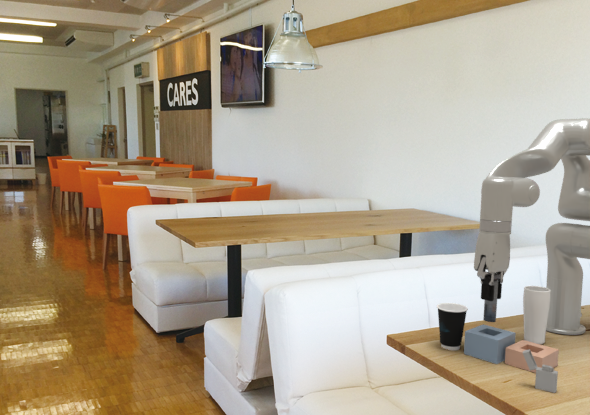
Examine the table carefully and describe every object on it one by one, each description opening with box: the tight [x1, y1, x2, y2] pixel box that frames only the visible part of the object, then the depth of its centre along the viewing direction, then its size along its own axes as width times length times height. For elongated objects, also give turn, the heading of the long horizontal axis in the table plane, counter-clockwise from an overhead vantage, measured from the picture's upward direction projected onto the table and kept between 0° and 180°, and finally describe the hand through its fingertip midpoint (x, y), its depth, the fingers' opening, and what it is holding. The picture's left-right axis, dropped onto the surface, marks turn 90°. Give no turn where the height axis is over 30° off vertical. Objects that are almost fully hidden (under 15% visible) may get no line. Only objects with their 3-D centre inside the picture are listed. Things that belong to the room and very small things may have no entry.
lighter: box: [523, 349, 559, 394], centre depth 119 cm, size 7×2×8 cm, turn 56°
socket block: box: [463, 324, 516, 365], centre depth 138 cm, size 9×9×6 cm
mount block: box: [504, 339, 560, 374], centre depth 132 cm, size 9×9×4 cm
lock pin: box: [482, 273, 500, 323], centre depth 137 cm, size 4×4×12 cm
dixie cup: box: [436, 302, 469, 351], centre depth 143 cm, size 8×8×11 cm
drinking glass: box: [522, 285, 551, 345], centre depth 148 cm, size 7×7×15 cm
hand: (490, 298), depth 137 cm, fingers closed on lock pin, 3 cm apart
